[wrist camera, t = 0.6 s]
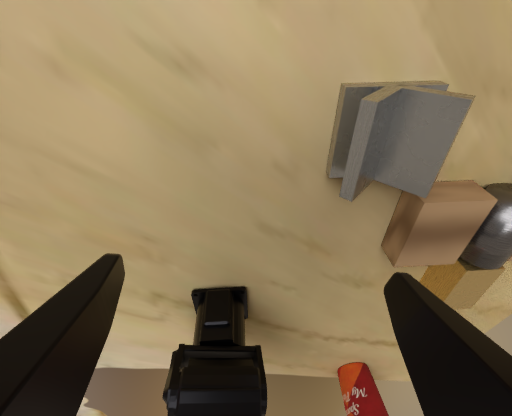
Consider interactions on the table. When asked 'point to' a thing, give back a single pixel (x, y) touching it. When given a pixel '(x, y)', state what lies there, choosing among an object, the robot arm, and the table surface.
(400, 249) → the beam
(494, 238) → the dark grey rounded block
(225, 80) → the table surface
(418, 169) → the v block
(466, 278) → the block
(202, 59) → the table surface
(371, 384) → the paper cup
